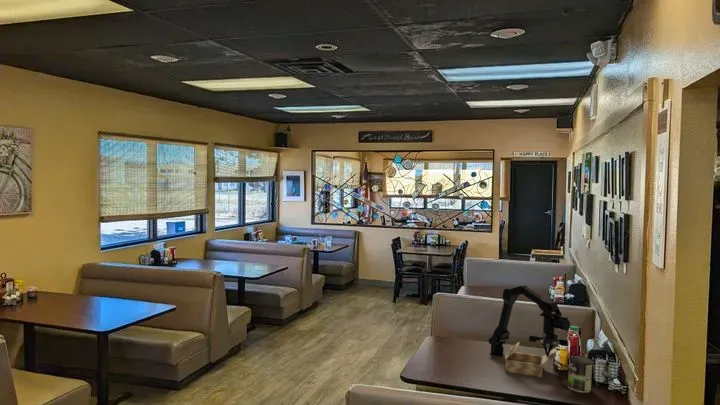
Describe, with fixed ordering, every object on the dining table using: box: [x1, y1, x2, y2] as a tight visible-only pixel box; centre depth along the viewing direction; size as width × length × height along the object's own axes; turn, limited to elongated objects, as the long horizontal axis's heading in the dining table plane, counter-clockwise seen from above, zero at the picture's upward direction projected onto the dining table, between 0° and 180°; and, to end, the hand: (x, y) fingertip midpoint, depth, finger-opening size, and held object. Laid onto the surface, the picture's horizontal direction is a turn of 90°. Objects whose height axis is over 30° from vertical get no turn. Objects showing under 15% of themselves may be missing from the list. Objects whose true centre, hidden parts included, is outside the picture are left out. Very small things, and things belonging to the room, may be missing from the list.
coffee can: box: [567, 356, 594, 394], centre depth 252 cm, size 10×10×14 cm
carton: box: [504, 351, 544, 378], centre depth 277 cm, size 18×16×6 cm
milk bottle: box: [566, 325, 582, 353], centre depth 291 cm, size 8×8×20 cm
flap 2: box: [542, 347, 557, 366], centre depth 272 cm, size 8×15×1 cm
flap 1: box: [504, 341, 520, 360], centre depth 279 cm, size 8×15×1 cm
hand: (547, 356), depth 273 cm, fingers closed
